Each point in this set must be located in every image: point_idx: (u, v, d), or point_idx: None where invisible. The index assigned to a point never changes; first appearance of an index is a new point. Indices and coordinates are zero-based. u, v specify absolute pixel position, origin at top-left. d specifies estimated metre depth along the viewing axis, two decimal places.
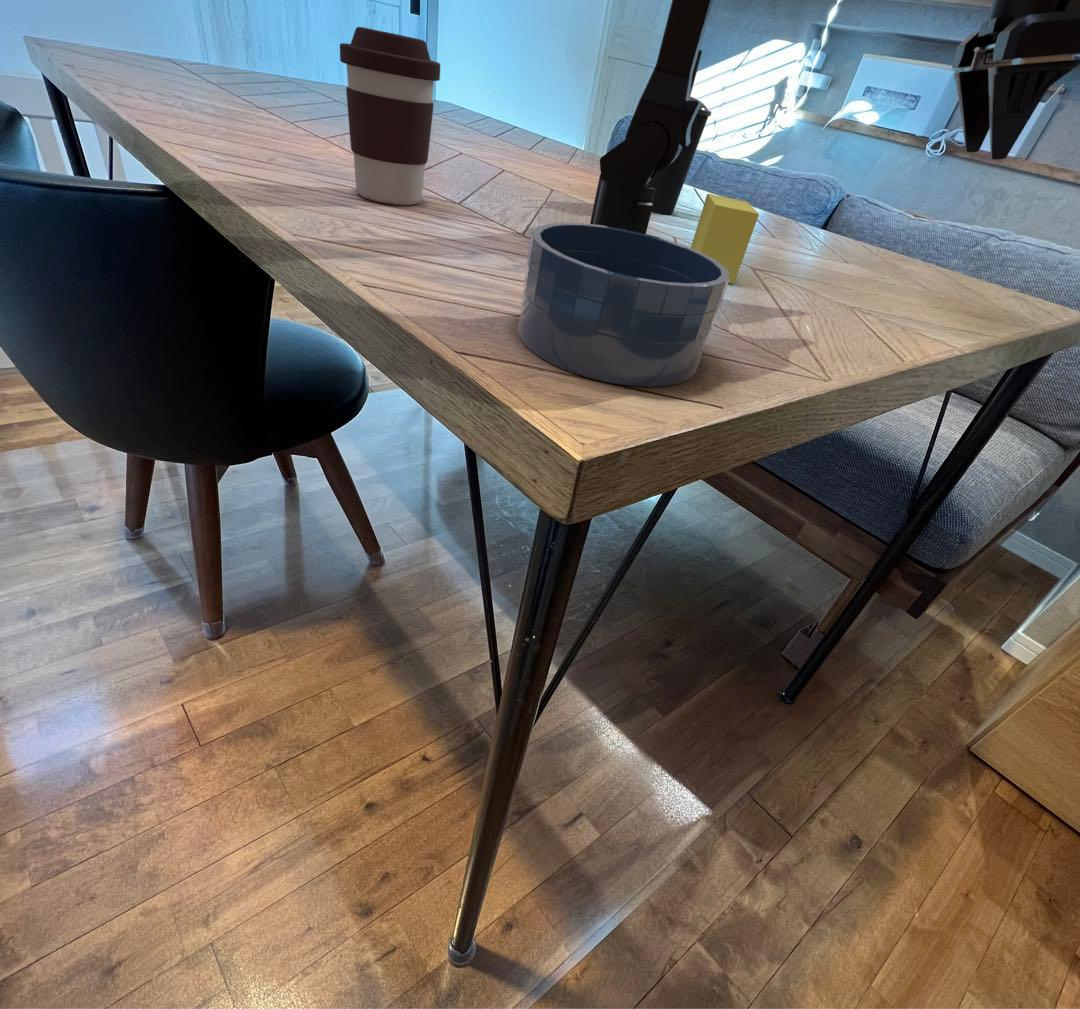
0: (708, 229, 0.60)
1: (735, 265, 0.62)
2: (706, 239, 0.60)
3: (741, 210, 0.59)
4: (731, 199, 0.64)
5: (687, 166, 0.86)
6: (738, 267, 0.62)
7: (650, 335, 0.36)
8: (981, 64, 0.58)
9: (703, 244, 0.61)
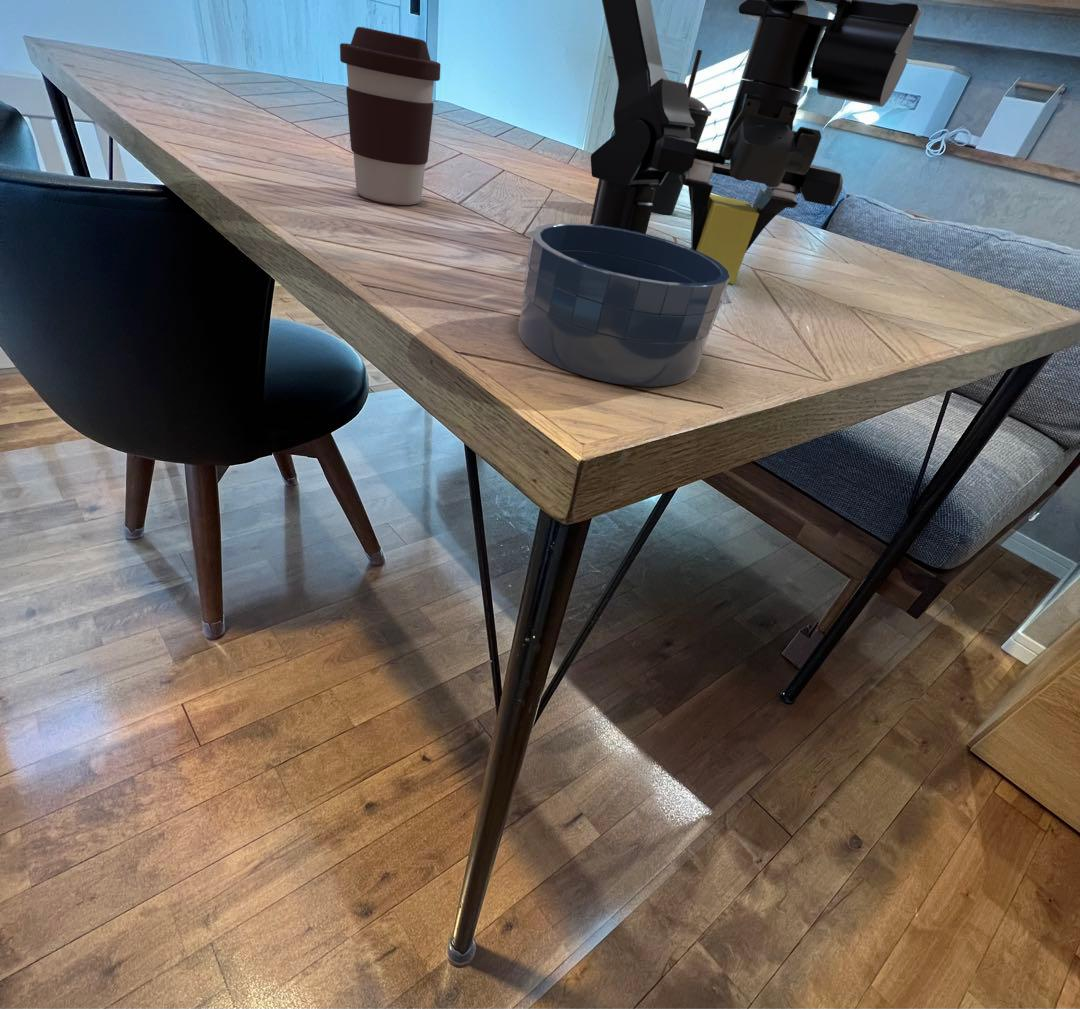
0: (708, 229, 0.60)
1: (735, 265, 0.62)
2: (706, 239, 0.60)
3: (741, 210, 0.59)
4: (731, 199, 0.64)
5: None
6: (738, 267, 0.62)
7: (650, 335, 0.36)
8: (768, 187, 0.61)
9: (703, 244, 0.61)
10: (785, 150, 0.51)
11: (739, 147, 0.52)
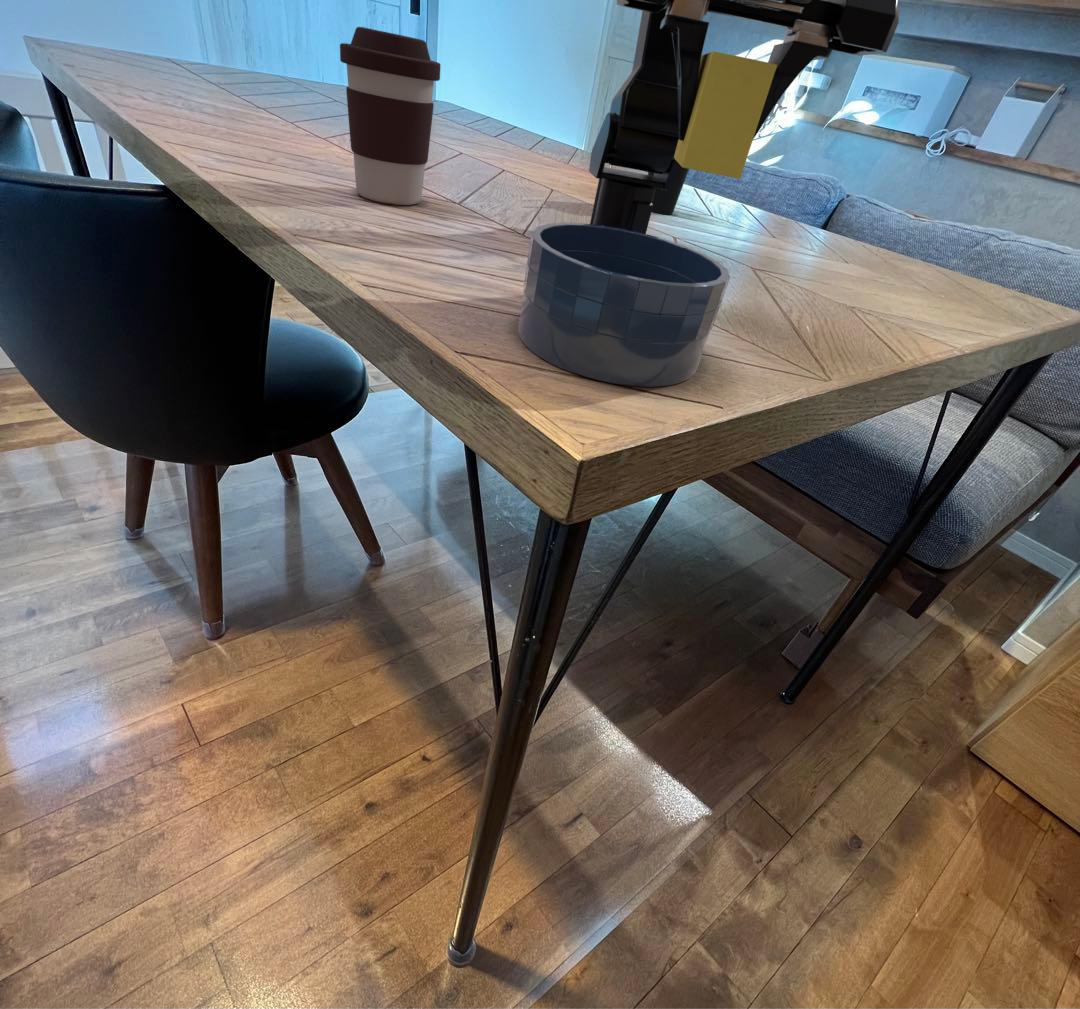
0: (703, 92, 0.41)
1: (742, 150, 0.43)
2: (701, 108, 0.42)
3: (751, 60, 0.40)
4: None
5: None
6: (746, 152, 0.43)
7: (650, 335, 0.36)
8: (787, 36, 0.43)
9: (696, 117, 0.42)
10: None
11: None
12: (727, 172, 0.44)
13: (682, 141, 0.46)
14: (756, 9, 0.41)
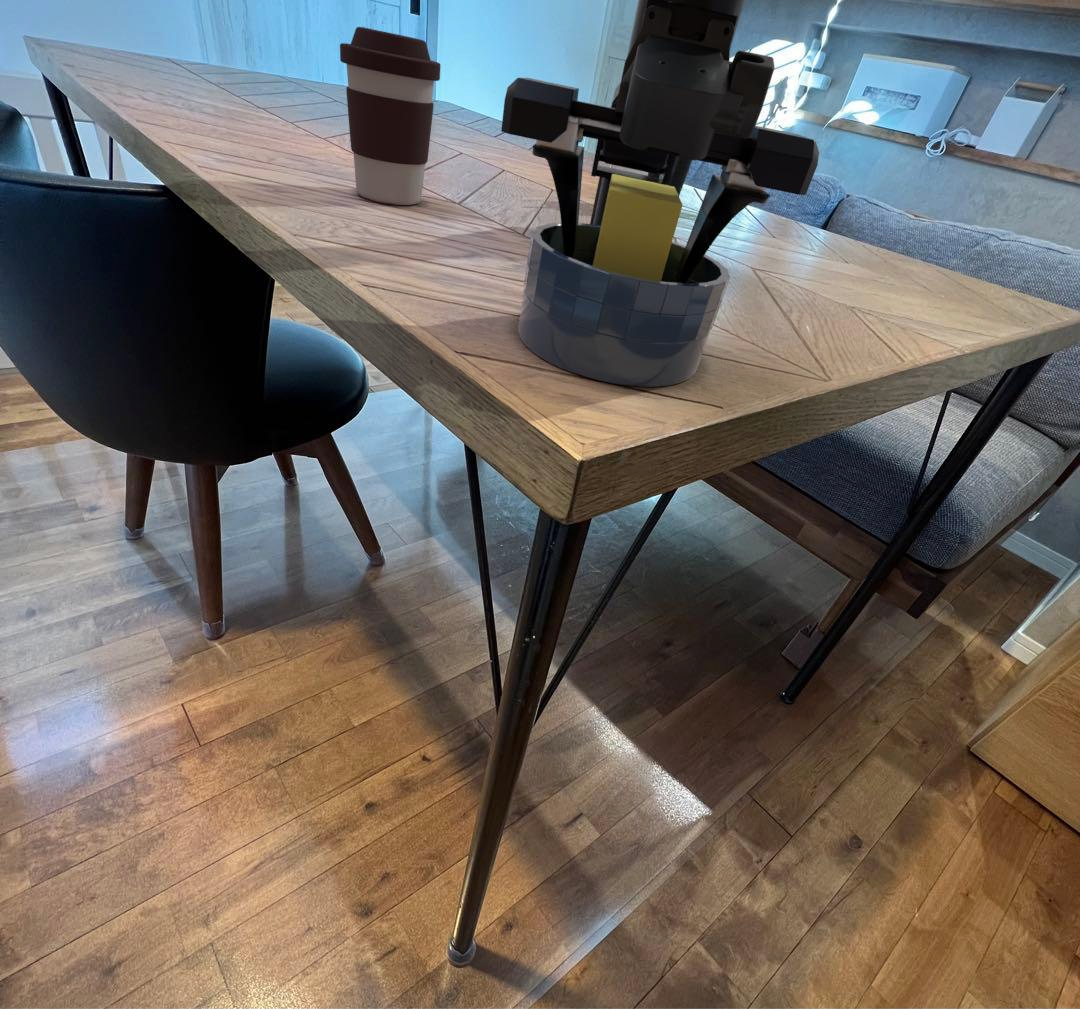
0: (602, 230, 0.37)
1: None
2: (601, 246, 0.37)
3: (653, 199, 0.36)
4: (648, 183, 0.40)
5: (687, 166, 0.86)
6: None
7: (650, 335, 0.36)
8: (724, 170, 0.38)
9: (597, 254, 0.38)
10: (709, 90, 0.28)
11: (629, 88, 0.29)
12: None
13: None
14: None
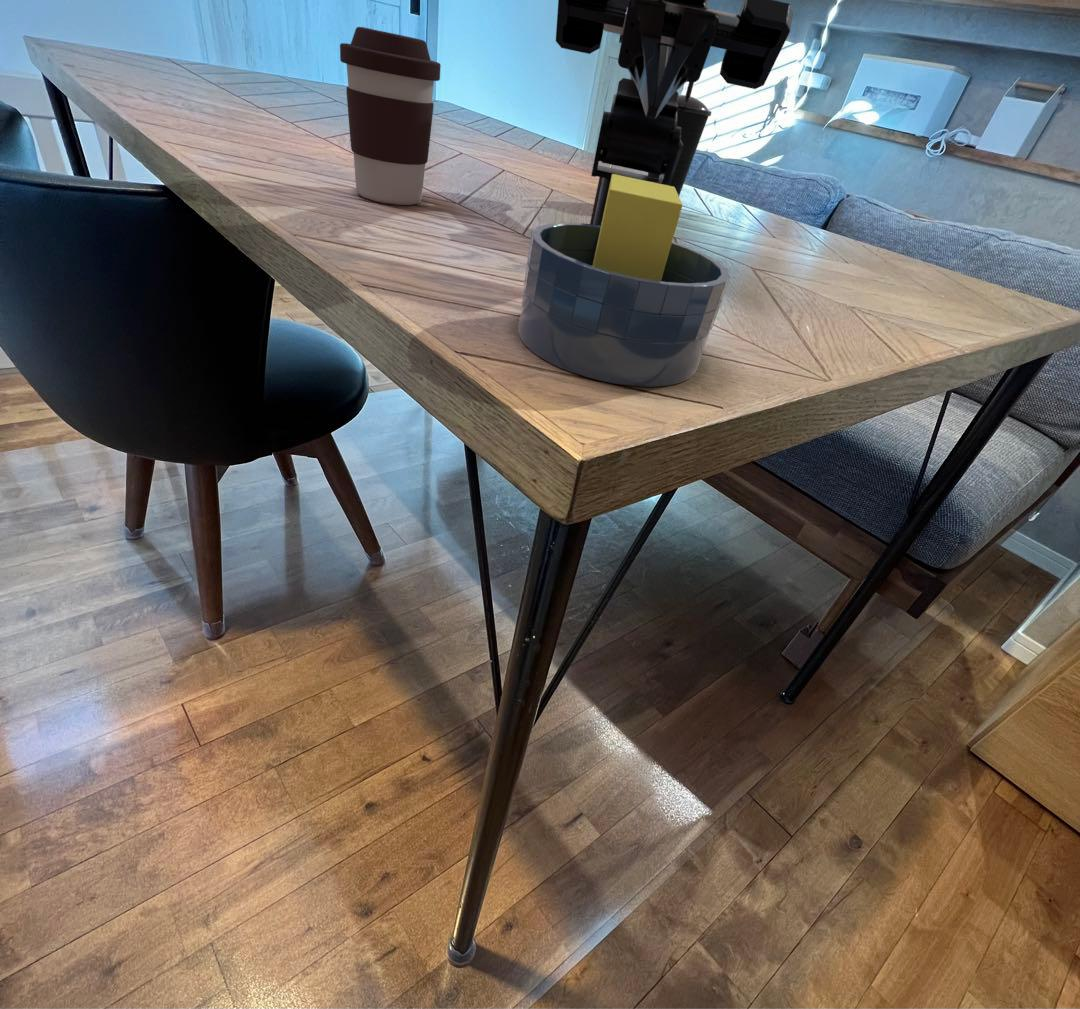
0: (602, 230, 0.37)
1: None
2: (601, 246, 0.37)
3: (653, 199, 0.36)
4: (648, 183, 0.40)
5: (687, 166, 0.86)
6: None
7: (650, 335, 0.36)
8: None
9: (597, 254, 0.38)
10: None
11: None
12: None
13: None
14: (674, 21, 0.49)
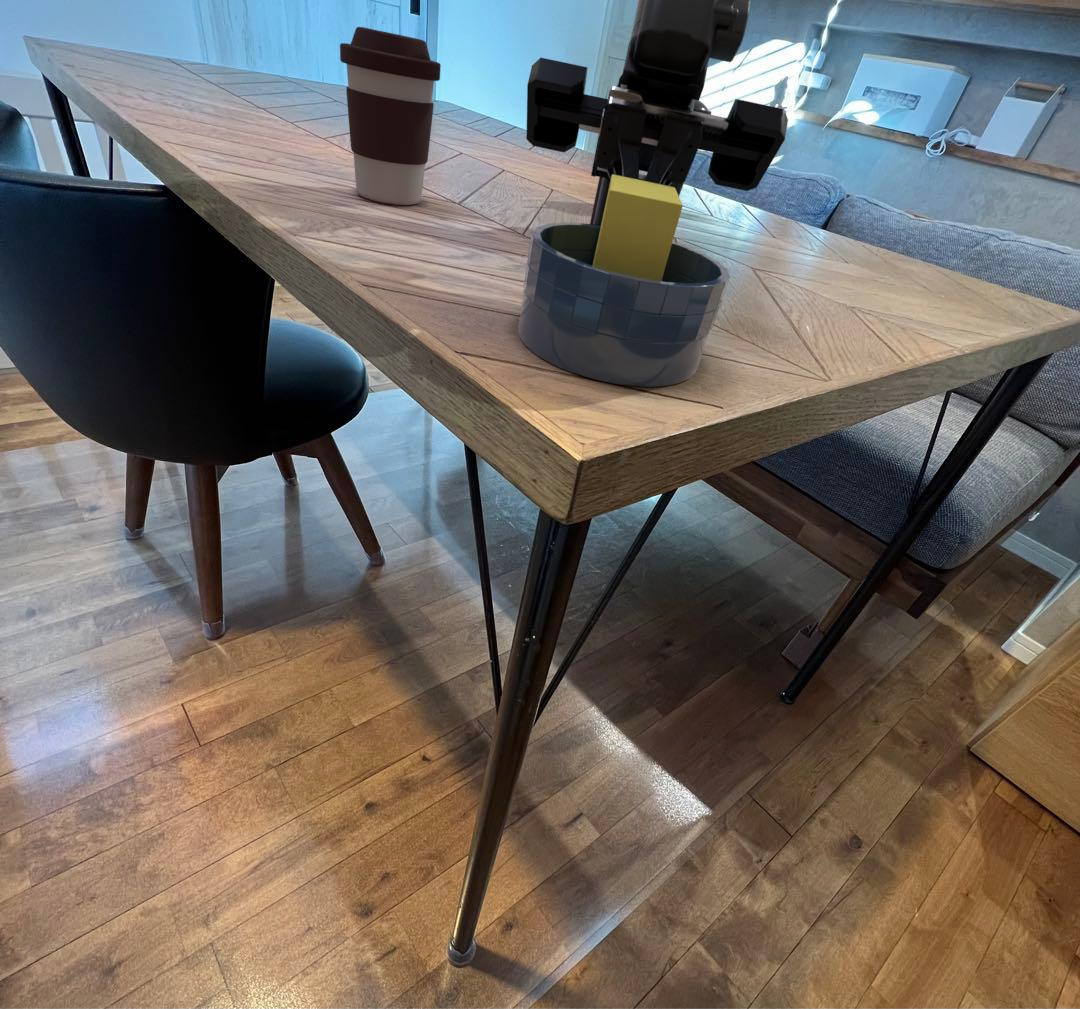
0: (602, 231, 0.37)
1: None
2: (601, 247, 0.37)
3: (653, 199, 0.35)
4: (648, 183, 0.40)
5: None
6: None
7: (650, 335, 0.36)
8: None
9: (597, 255, 0.38)
10: None
11: None
12: None
13: None
14: (656, 123, 0.44)
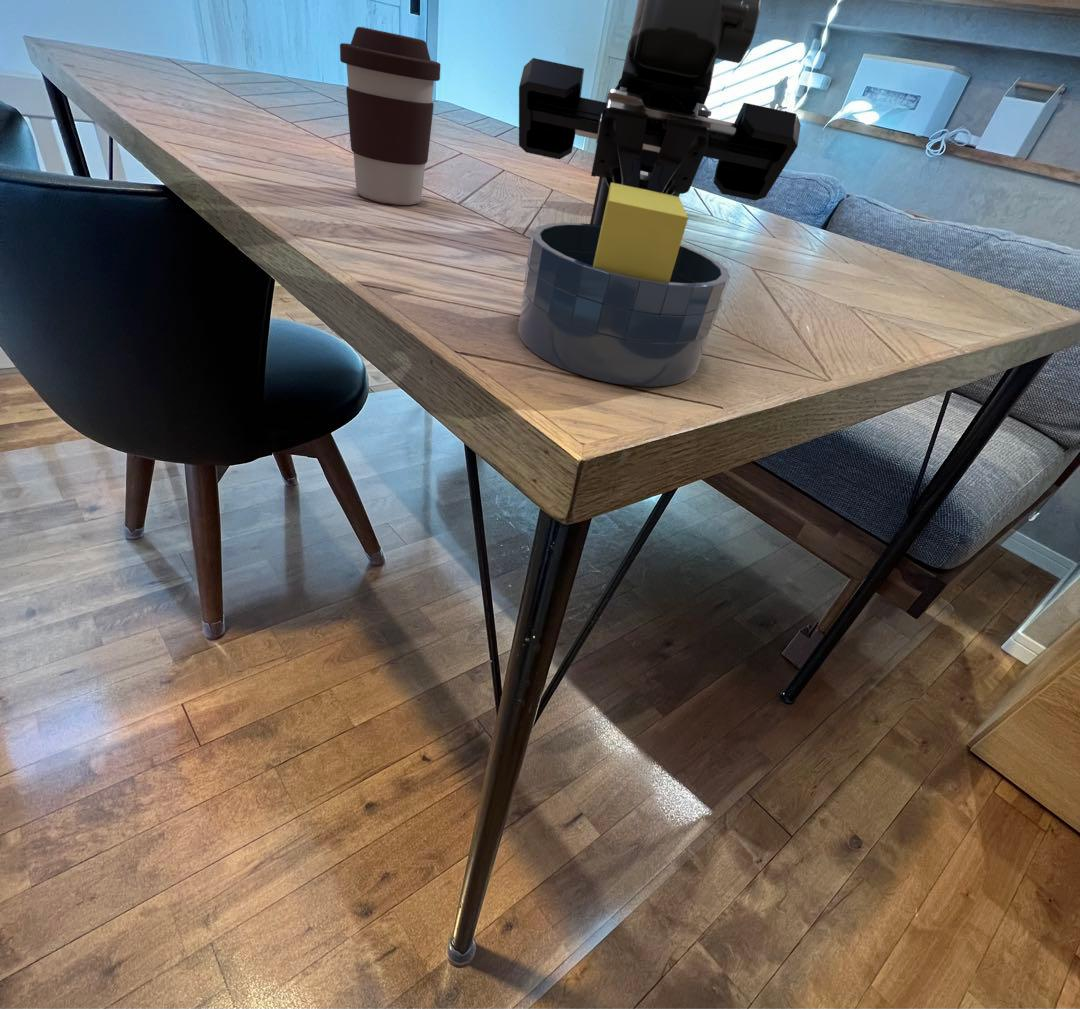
0: (600, 245, 0.34)
1: None
2: (599, 262, 0.34)
3: (656, 211, 0.32)
4: (650, 192, 0.37)
5: None
6: None
7: (650, 335, 0.36)
8: None
9: None
10: None
11: None
12: None
13: None
14: (658, 129, 0.41)
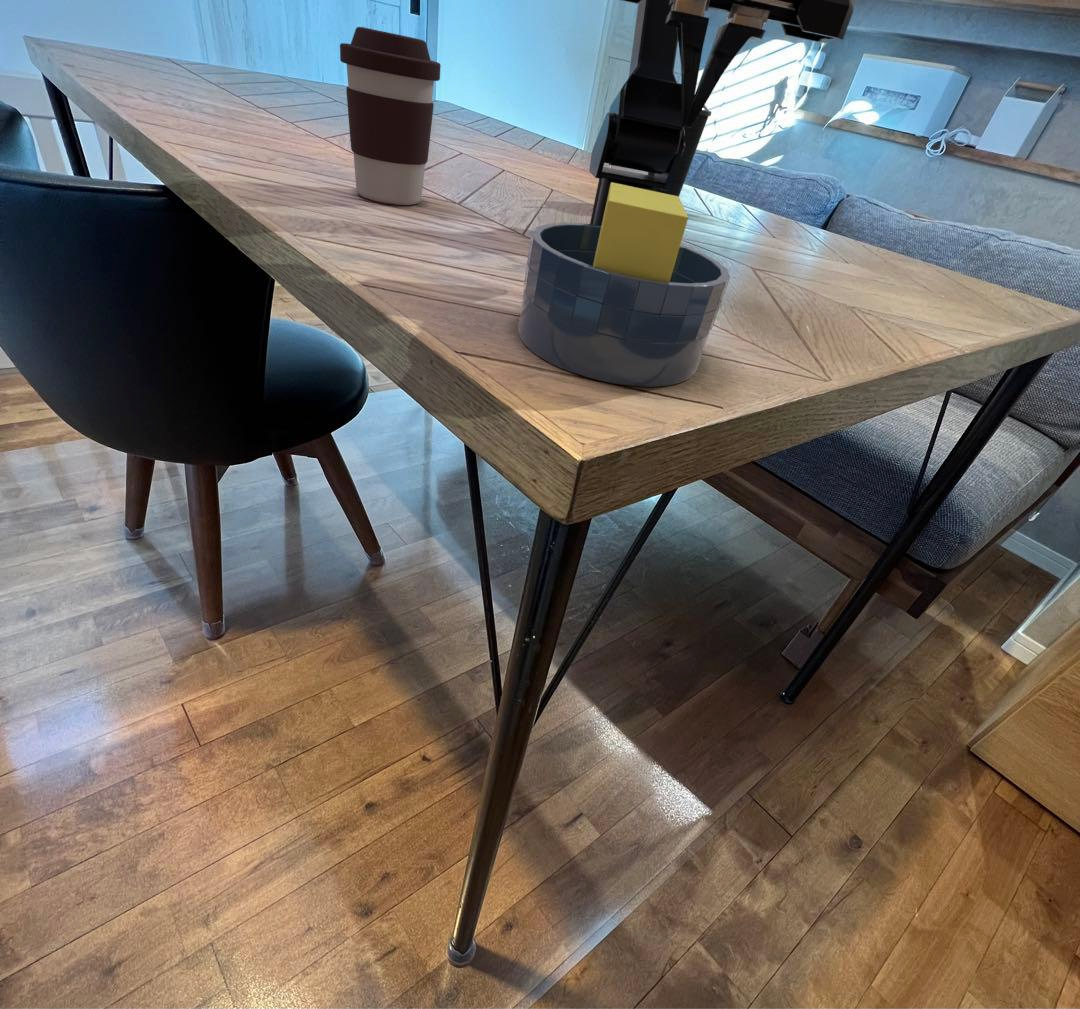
0: (600, 245, 0.34)
1: None
2: (599, 262, 0.34)
3: (656, 211, 0.32)
4: (650, 192, 0.37)
5: (687, 166, 0.86)
6: None
7: (650, 335, 0.36)
8: (728, 19, 0.47)
9: None
10: None
11: None
12: None
13: None
14: (725, 0, 0.45)
